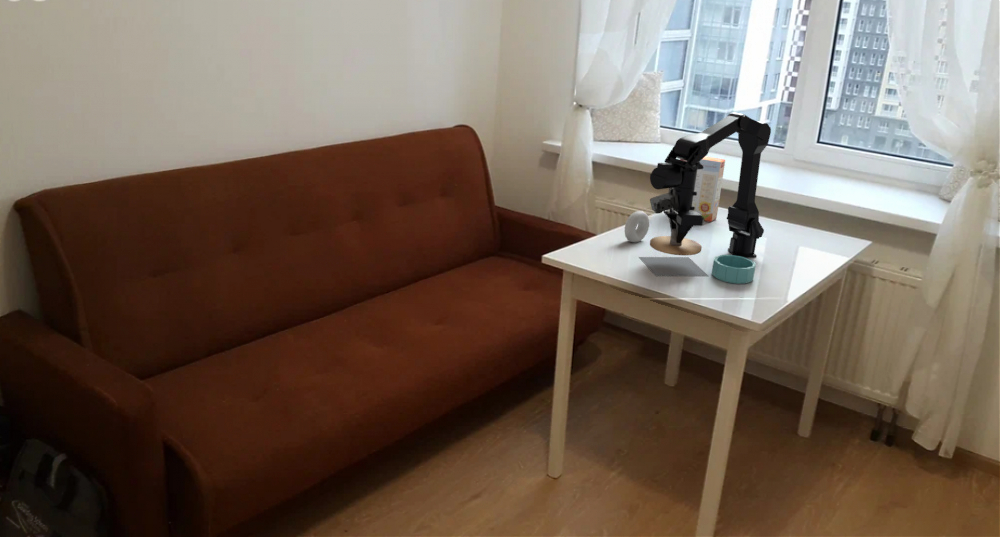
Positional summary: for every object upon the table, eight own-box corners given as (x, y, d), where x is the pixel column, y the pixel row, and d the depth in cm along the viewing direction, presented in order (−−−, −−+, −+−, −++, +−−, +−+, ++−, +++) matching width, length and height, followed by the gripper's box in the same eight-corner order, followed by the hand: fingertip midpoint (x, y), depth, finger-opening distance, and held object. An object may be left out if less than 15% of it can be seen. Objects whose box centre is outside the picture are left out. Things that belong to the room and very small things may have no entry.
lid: (689, 238, 217) (692, 222, 215) (709, 255, 204) (712, 238, 202) (643, 238, 215) (645, 222, 213) (659, 255, 202) (661, 238, 200)
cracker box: (716, 218, 261) (726, 159, 253) (711, 222, 256) (720, 161, 249) (678, 211, 268) (686, 152, 260) (671, 214, 263) (680, 155, 255)
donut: (629, 247, 227) (633, 215, 224) (620, 243, 229) (624, 212, 226) (649, 241, 234) (653, 209, 230) (640, 238, 236) (644, 207, 232)
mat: (688, 258, 220) (688, 257, 220) (708, 277, 206) (708, 276, 206) (638, 258, 218) (638, 256, 217) (655, 277, 204) (655, 276, 204)
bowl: (741, 271, 212) (744, 255, 211) (759, 286, 202) (762, 268, 201) (705, 271, 211) (708, 254, 209) (721, 286, 201) (724, 268, 199)
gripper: (644, 176, 211) (637, 230, 216) (667, 194, 194) (659, 252, 199) (682, 177, 213) (675, 230, 218) (708, 195, 195) (699, 252, 201)
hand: (676, 240), depth 209 cm, fingers closed on lid, 3 cm apart
